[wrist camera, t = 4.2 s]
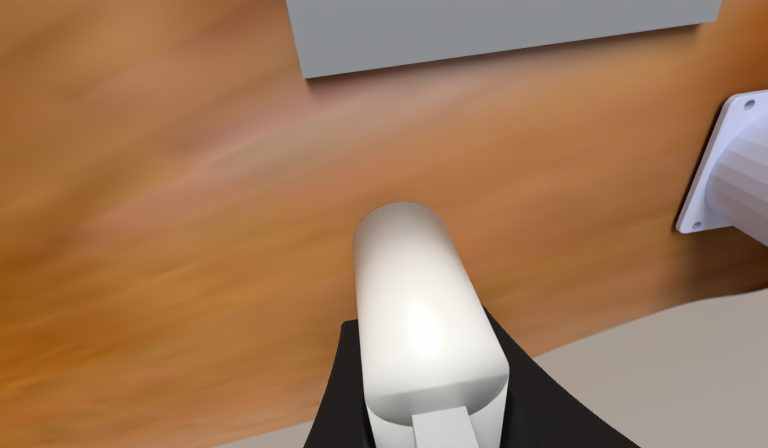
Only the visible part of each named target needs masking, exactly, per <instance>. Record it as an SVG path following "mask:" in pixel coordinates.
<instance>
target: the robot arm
mask: <svg viewBox="0 0 768 448" xmlns="http://www.w3.org/2000/svg"><path fill="white" fill-rule="evenodd" d="M727 226H734V227H736V228H738V229H739V230H741V231H743V232H744V233H746V234H747V235H749V236H751V237H752V238H754V239H756V240H757V241H759V242H761V243H762V244H764V245H766V246H767V247H768V90H762V91H755V92H748V93H742V94H736V95H733V96H732V97H730V98H729V99H728V100H727V101H726V102H725V103H724V105H723V107H722V110H721V112H720V115H719V118H718V120H717V123H716V125H715V128H714V130H713V133H712V135H711V138H710V140H709V143H708V145H707V148H706V150H705V153H704V155H703V158H702V160H701V163H700V165H699V168H698V170H697V173H696V175H695V178H694V181H693V183H692V186H691V188H690V191H689V193H688V196H687V198H686V201H685V203H684V206H683V208H682V211H681V213H680V216H679V218H678V221H677V223H676V227H675V228H676V230H678V231H679V232H681V233H691V232H697V231H703V230H709V229H715V228H721V227H727ZM480 303H481V302H480ZM481 305H482V307H483V310H484V312H485V314H486V316H487V318H488V320H489V322H490V325H491V327H492V329H493V331H494V333H495V335H496V338H497V340H498V342H499V344H500V346H501V348H502V351H503V353H504V355H505V357H506V359H507V361H508V365H509V378H508V386H507V394H506V401H505V409H504V416H503V424H502V431H501V439H500V446H499V448H640V447H639V446H637V445H636V444H635V443H634V442H632V441H631V440H629V439H628V438H627V437H625V436H624V435H622V434H621V433H620V432H618V431H617V430H615V429H614V428H612V427H611V426H610V425H608V424H607V423H606V422H604V421H603V420H602V419H600V418H599V417H598V416H597V415H595V414H594V413H593V412H592V411H590V410H589V409H588V408H586V407H585V406H584V405H583V404H582V403H580V402H579V401H578V400H577V399H575V398H574V397H573V396H572V395H570V394H569V393H568V392H567V391H566V390H565V389H564V388H563V387H561V386H560V385H559V384H558V383H557V382H556V381H555V380H553V379H552V378H551V377H550V376H549V375H548V374H547V373H546V372H545V371H544V370H543V369H542V368H541V367H540V366H538V364H537V363H535V362H534V361H533V360H532V359H531V358H530V357H529V356H528V355H527V354H526V353H525V351H524V350H523V349H522V348H521V347H520V346H519V345H518V344H517V343H516V342H515V341H514V340H513V339H512V338H511V337H510V336H509V335H508V334H507V333H506V331H505V330H504V329H503V328H502V327H501V326H500V325H499V324H498V322H497V321H496V320H495V319H494V318H493V317H492V315H491V314H490V313H489V312H488V311H487V309H486V308H485V307H484V306H483V304H482V303H481ZM303 448H376V444H375V440H374V435H373V431H372V427H371V423H370V419H369V414H368V410H367V406H366V402H365V396H364V385H363V372H362V360H361V348H360V335H359V323H358V319H356V320H350V321H345V322H344V323H343V324H342V326H341V334H340V339H339V344H338V349H337V353H336V357H335V361H334V364H333V368H332V371H331V374H330V378H329V381H328V384H327V388H326V391H325V393H324V396H323V399H322V402H321V405H320V407H319V410H318V413H317V416H316V418H315V421H314V423H313V426H312V428H311V431H310V433H309V436H308V438H307V440H306V442H305V445H304V447H303Z"/></svg>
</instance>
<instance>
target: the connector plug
mask: <svg viewBox="0 0 768 448" xmlns="http://www.w3.org/2000/svg"><path fill="white" fill-rule="evenodd" d="M352 249H353V261H354V274H355V286H356V298H357V311H358V323H359V335H360V348H361V360H362V372H363V385H364V396H365V402H366V406H367V410H368V414H369V419H370V423H371V427H372V431H373V435H374V440H375V444H376V448H499V446H500V439H501V431H502V424H503V416H504V409H505V401H506V394H507V386H508V378H509V365H508V361H507V359H506V357H505V355H504V353H503V351H502V348H501V346H500V344H499V342H498V340H497V338H496V335H495V333H494V331H493V329H492V327H491V325H490V322H489V320H488V318H487V316H486V314H485V312H484V310H483V307H482V305H481V303H480V301H479V299H478V297H477V294H476V292H475V290H474V288H473V286H472V284H471V281H470V279H469V277H468V275H467V273H466V271H465V269H464V266H463V264H462V262H461V260H460V258H459V256H458V253H457V251H456V249H455V247H454V245H453V243H452V240H451V238H450V236H449V234H448V232H447V230H446V227H445V225H444V223H443V221H442V220H441V218H440V217H439V216H438V215H437V213H435V212H434V211H433V210H432V209H430V208H428V207H426V206H424V205H422V204H418V203H414V202H395V203H390V204H387V205H384V206H381V207H379V208H377V209H375V210H374V211H372V212H371V213H369V214H368V215H367V216H366V217H365V218H364V219H363V220H362V221H361V222H360V224H359V225H358V227H357V228H356V230H355V233H354V236H353V240H352Z"/></svg>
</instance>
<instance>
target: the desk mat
mask: <svg viewBox="0 0 768 448" xmlns="http://www.w3.org/2000/svg"><path fill="white" fill-rule="evenodd" d="M722 1H723V0H286V3H287V8H288V12H289V17H290V21H291V26H292V30H293V35H294V40H295V44H296V49H297V53H298V58H299V63H300V67H301V72H302V76H303V79H305V78H313V77H320V76H327V75H334V74H341V73H348V72H355V71H363V70H370V69H377V68H384V67H391V66H398V65H405V64H413V63H420V62H427V61H434V60H441V59H448V58H455V57H463V56H470V55H477V54H484V53H491V52H498V51H505V50H513V49H520V48H527V47H534V46H541V45H548V44H555V43H562V42H570V41H577V40H584V39H591V38H598V37H605V36H612V35H620V34H627V33H634V32H641V31H648V30H655V29H662V28H670V27H677V26H684V25H691V24H698V23H705V22H712V21H716V19H717V16H718V13H719V10H720V7H721V4H722Z"/></svg>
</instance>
